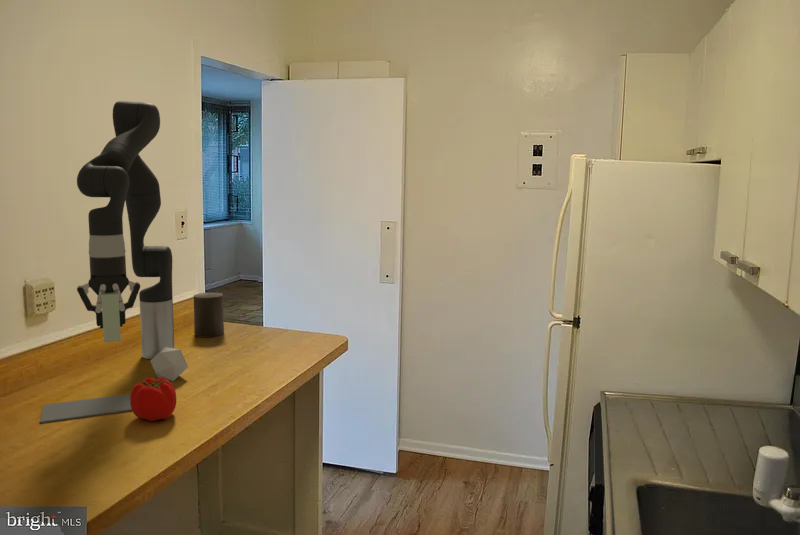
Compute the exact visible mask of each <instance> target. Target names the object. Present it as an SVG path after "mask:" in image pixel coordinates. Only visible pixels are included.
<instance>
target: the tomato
mask: <svg viewBox="0 0 800 535" xmlns="http://www.w3.org/2000/svg"><path fill="white" fill-rule="evenodd" d="M130 392H131V393H130V394H131V396H130V405H131V409H132V411H131V412H133V414H134V416H136V417H137V418H139V419H142V420H147V421H149V422H154V421H155V422H156V421H158V420H162V421H163V420H165V419H168V418H169V417H170V416H171V415H172V414H173V412H174V411H175V409H176V406H177V393H176V388H175V386H174V384H173V383H172V382H170V381H169V380H167V379H165V378H155V377H147V378H144V379H143V380H142V379H141V380H140V382H138V383H136V384H134V385H133V387H132V389H131V391H130Z"/></svg>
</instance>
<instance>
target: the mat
mask: <svg viewBox="0 0 800 535" xmlns="http://www.w3.org/2000/svg"><path fill="white" fill-rule="evenodd" d="M130 396H131V393H127V394H117V395H112V396H110V395H109V396H103V397H102V396H101V397H93V398H86V399H79V400H71V401H70V400H69V401H62V402H56V403H55V402H54V403H45V404H43V407H42V411H41V416H40V420H39V423H40V424H46V423H51V422H52V423H53V422H60V421H67V420H76V419H82V418H90V417H96V416H104V415H111V414H119V413H126V412H133V411H132V409H131V405H130Z"/></svg>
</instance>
